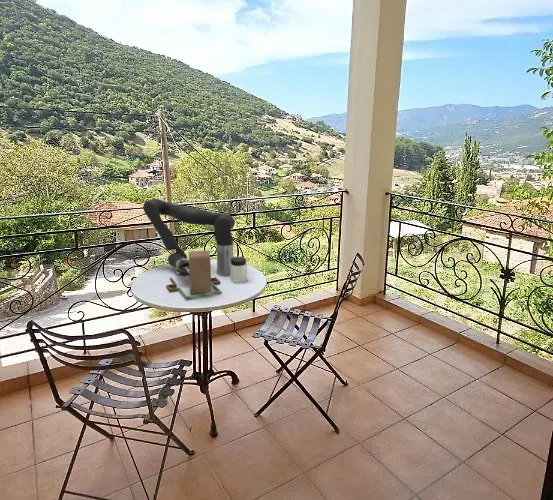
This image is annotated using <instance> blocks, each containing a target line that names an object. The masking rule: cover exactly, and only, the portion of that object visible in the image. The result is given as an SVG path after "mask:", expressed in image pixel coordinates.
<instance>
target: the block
mask: <svg viewBox="0 0 553 500" xmlns="http://www.w3.org/2000/svg"><path fill="white" fill-rule="evenodd" d="M187 254H188V260H189V277H188V279H189V292H190V294H189V295H190V296H192V295H197V294H203V293H209V292H212V286H211V278H212V271H211V269H212V268H211V254H210V251H209V250H197V251H196V250H195V251H194V250H193V251H191V250H190V251H189V252H188V253H187Z"/></svg>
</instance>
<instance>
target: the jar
mask: <svg viewBox="0 0 553 500" xmlns="http://www.w3.org/2000/svg"><path fill="white" fill-rule="evenodd" d="M247 271H248V264H247V259H246V257H242V256H234V258H231V263H230V275H229V276H230V277H229V279H230V281H231V282H232V283H237V284H242V283H244V282H247V281H248V272H247Z"/></svg>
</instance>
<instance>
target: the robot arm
mask: <svg viewBox="0 0 553 500" xmlns="http://www.w3.org/2000/svg"><path fill="white" fill-rule="evenodd" d="M142 208H143V212H144V214H145V215H146V217H147V218H148V220H149V221H150V223H151V225H152V226H153V227H154V228H155V230H156V233H157V234H158V236H159V237H160V240H161V241H162V244H163V246H164V248H165V250H166V251H173V250H175V251H176V252H174V253H172V254H169V256H168V257H167V263H168V264H169V265H170V266H171V267H173V268H176V276H180V277H185V278H186V277H188V278H189V259H188V256H187V253H185V251H184V250H183V249H182V248H181V247H180V245H179V244H178V242H177V240H176V238H175V236H174V233H173V232H172V231H171V230H170V228H169V227H168V226H167V225H166V224H165V222H164V221H163V219H162V217H161V216H167V217H168V216H169V217H172V218H174V219H176V220H177V221H179V222H181V223H185V224H188V225H189V224H190V225H199V226H201V225H204V226H205V225H206V226H213V227H214V230H213V231H214V239H215V242H216V243H215V244H216V274H217V275H219V276H224V277H225V276H230V263H231V258H234V257H235V256H234V239H233V237H232V229H233V228H234V226H235V225H236V221H235V218H234V217H233V216H232V215H230V214H228V213H219V212H212V211H209V210H205V209H200V208H196V207H193V206H189V205H184V204H183V205H182V204H177V203H175V204H174V203H171V202H168V201H165V200H162V199H159V198H153V199H150V200H146V201H145V202H144V203H143V206H142Z"/></svg>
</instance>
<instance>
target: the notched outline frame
mask: <svg viewBox="0 0 553 500" xmlns="http://www.w3.org/2000/svg"><path fill="white" fill-rule="evenodd" d="M169 281H170V282H171V284H166V286H165V288H166V290H167V291H168V292H169V293H177V292H179V293H180V295H181V296H182V297H183V299H184V300H185V301H190V300H191V301H192V300H195V299H201V298H205V297H212V296H216V295H217V296H218V295H221V294H222V290H221V288H219V287H218V285H221V280H220V279H219V278H217V276H215V277H211V288H213V289H214V290H215V291H211V292H209V293H203V294H197V295H192V296H191V295H187V294H186V293H185V292H184V291H183V289H182V288H181V287H178V284H177V283H176V281H175V280H174V279H173V278H172V277H169Z"/></svg>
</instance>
